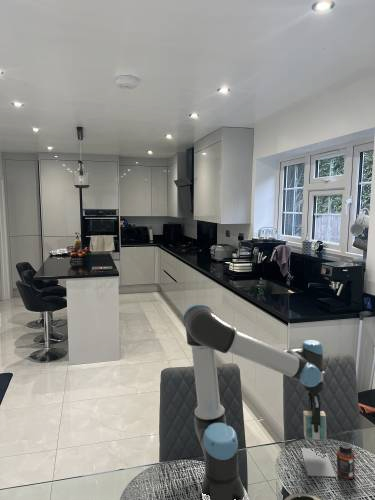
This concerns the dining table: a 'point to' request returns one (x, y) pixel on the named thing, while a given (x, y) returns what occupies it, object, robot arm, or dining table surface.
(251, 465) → the dining table surface
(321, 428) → the small box
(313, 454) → the grey mat
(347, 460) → the supplement bottle
